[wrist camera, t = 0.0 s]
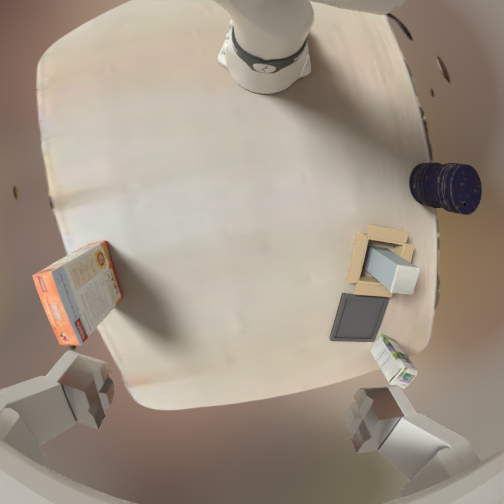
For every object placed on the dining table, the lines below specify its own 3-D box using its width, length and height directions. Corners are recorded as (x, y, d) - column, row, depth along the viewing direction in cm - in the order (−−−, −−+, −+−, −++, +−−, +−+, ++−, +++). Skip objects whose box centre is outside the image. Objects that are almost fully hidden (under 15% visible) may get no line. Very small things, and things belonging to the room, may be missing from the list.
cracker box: (86, 244, 55) (30, 274, 35) (107, 239, 55) (52, 270, 35) (103, 300, 59) (58, 346, 39) (123, 298, 59) (81, 347, 39)
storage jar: (412, 157, 51) (454, 156, 37) (442, 169, 52) (484, 173, 37) (405, 199, 54) (446, 208, 39) (435, 209, 54) (476, 220, 40)
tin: (367, 245, 56) (399, 265, 43) (386, 248, 57) (420, 268, 43) (362, 267, 58) (391, 292, 44) (381, 269, 58) (412, 294, 45)
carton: (352, 219, 55) (359, 222, 51) (408, 230, 56) (417, 234, 52) (337, 286, 59) (343, 293, 55) (393, 291, 60) (400, 297, 56)
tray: (342, 293, 59) (343, 295, 58) (386, 296, 60) (388, 298, 59) (329, 338, 62) (330, 340, 61) (371, 339, 63) (373, 341, 62)
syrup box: (395, 339, 64) (420, 371, 50) (382, 356, 65) (404, 390, 51) (381, 333, 63) (406, 366, 49) (368, 351, 64) (389, 386, 50)
